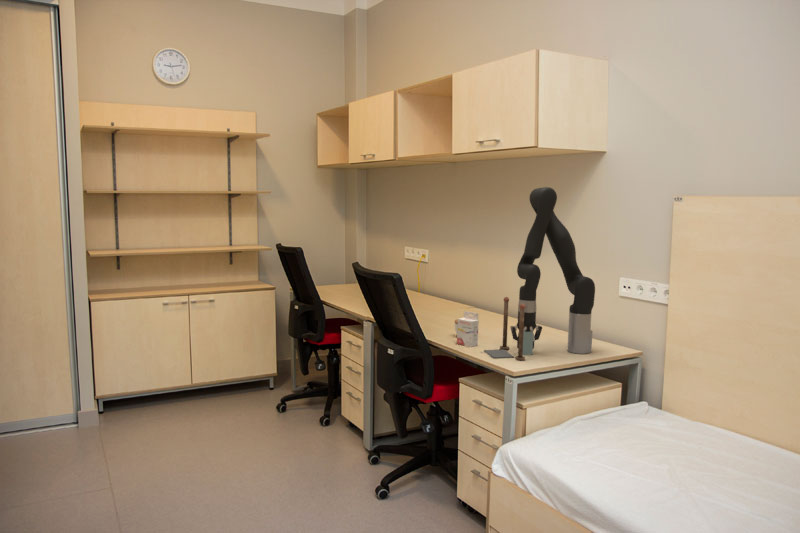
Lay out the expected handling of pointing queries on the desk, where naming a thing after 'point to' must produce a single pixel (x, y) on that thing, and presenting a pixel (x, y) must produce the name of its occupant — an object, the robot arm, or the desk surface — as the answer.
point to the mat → (498, 354)
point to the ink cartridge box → (468, 329)
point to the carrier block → (527, 343)
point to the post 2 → (521, 334)
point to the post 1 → (505, 324)
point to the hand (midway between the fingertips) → (525, 349)
